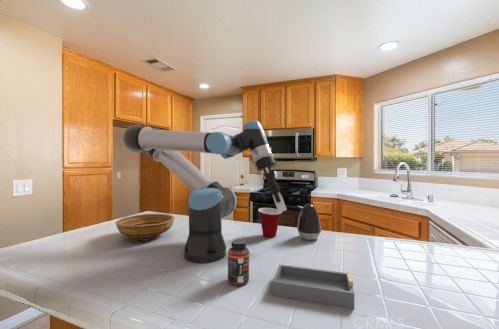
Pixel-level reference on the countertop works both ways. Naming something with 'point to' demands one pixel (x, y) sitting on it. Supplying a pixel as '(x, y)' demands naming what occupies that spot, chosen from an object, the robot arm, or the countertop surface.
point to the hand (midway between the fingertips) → (283, 211)
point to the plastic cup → (269, 221)
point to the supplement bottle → (238, 263)
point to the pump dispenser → (308, 222)
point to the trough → (314, 285)
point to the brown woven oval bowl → (145, 225)
